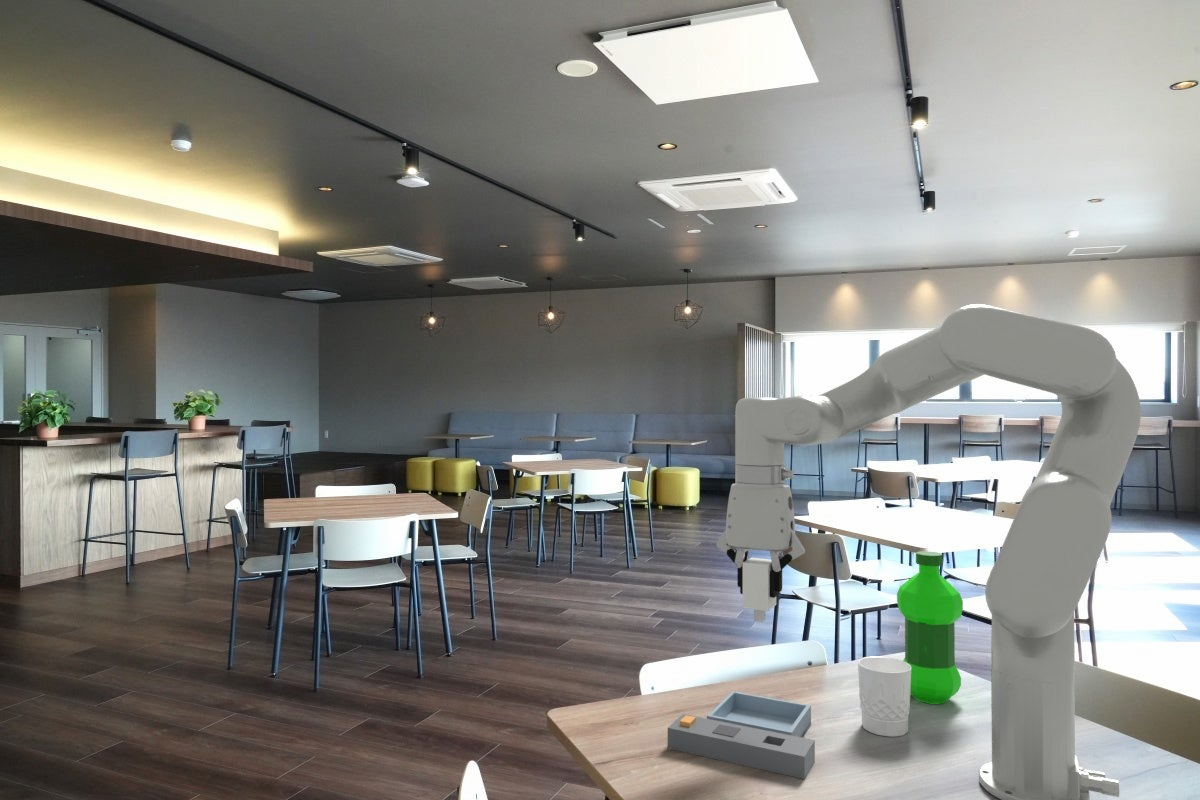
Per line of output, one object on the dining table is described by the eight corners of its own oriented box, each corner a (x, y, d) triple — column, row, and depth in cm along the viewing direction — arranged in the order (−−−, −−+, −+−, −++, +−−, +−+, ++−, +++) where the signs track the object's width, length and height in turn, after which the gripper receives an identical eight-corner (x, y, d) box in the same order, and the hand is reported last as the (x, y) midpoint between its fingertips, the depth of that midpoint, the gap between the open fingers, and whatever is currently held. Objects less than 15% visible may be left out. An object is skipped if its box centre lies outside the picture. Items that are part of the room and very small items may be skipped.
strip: (814, 761, 109) (814, 735, 109) (804, 779, 104) (804, 752, 104) (683, 733, 119) (683, 709, 119) (667, 748, 113) (667, 723, 113)
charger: (776, 618, 121) (776, 559, 121) (768, 625, 117) (768, 565, 117) (751, 615, 123) (751, 557, 123) (742, 622, 119) (742, 562, 119)
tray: (811, 724, 122) (811, 705, 122) (791, 753, 112) (791, 732, 112) (732, 709, 128) (732, 691, 128) (706, 735, 118) (706, 715, 118)
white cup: (854, 732, 119) (853, 667, 119) (862, 715, 126) (862, 653, 126) (908, 742, 116) (908, 675, 116) (914, 724, 122) (914, 660, 123)
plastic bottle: (887, 698, 134) (886, 553, 134) (915, 683, 141) (915, 546, 141) (945, 714, 126) (944, 561, 127) (972, 698, 133) (971, 553, 134)
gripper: (819, 477, 120) (819, 595, 120) (716, 472, 128) (716, 583, 128) (808, 480, 113) (808, 605, 113) (700, 475, 121) (700, 592, 121)
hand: (759, 592), depth 120 cm, fingers closed on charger, 4 cm apart
